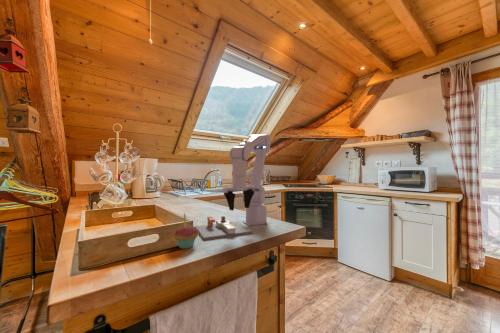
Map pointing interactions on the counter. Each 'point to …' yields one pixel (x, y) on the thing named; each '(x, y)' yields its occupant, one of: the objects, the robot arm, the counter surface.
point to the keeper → (210, 221)
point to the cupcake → (186, 235)
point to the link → (226, 226)
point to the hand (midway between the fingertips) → (239, 208)
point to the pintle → (223, 219)
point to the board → (221, 231)
